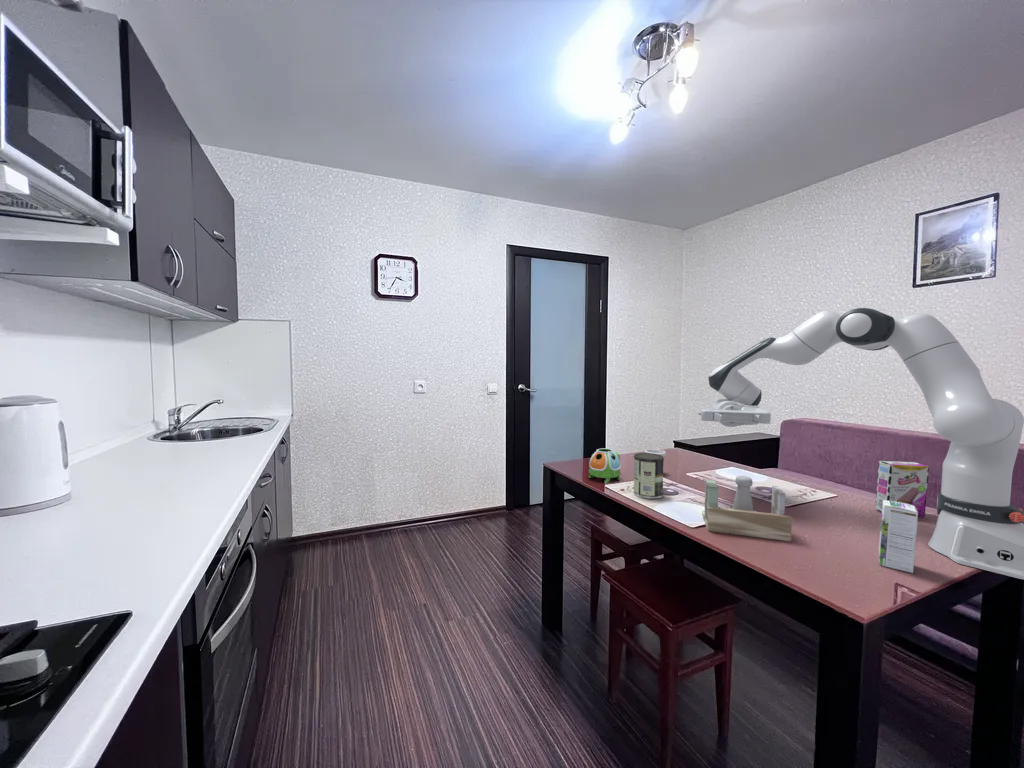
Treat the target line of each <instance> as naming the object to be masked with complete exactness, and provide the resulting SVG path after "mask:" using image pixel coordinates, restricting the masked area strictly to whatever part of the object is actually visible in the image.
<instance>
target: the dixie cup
mask: <svg viewBox="0 0 1024 768" xmlns="http://www.w3.org/2000/svg"><path fill="white" fill-rule="evenodd" d="M644 453H653V454H658V455H662V456H663V457H664V458H665V455H666V451H665V450H662V449H658V448H656V449H655V448H649V449H647V448H646V449H645V450H644ZM664 462H665V461H664ZM664 462H663V464H664Z"/></svg>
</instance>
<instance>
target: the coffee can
mask: <svg viewBox="0 0 1024 768" xmlns="http://www.w3.org/2000/svg"><path fill="white" fill-rule="evenodd" d="M633 458H634V459H633V460H634V462H633V463H634V464H633V472H634V473H633V492H632V493H633V494H634V495H635V496H637V497H639V498H643V499H650V500H652V499H653V500H654V499H660V498H663V497H664V463H663V462H665V456H664V457H663V456H662V455H658V454H653V453H646V452H638V453H634V454H633Z"/></svg>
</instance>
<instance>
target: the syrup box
mask: <svg viewBox="0 0 1024 768" xmlns="http://www.w3.org/2000/svg"><path fill="white" fill-rule="evenodd" d="M880 517H881V520H880V528H879V540H878V562H879V566H882V567H886V568H890V569H894V570H898V571H903V572H906V573H910V574H914V568H915V556H916V545H917V543H916V542H917V534H918V533H917V531H918V518H919V516H918V512H917V509H916V507H915V506H913V505H909V504H905V503H901V502H895V501H887V500H883V505H882V513H881V516H880Z"/></svg>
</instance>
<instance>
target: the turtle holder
mask: <svg viewBox="0 0 1024 768" xmlns="http://www.w3.org/2000/svg"><path fill="white" fill-rule="evenodd" d="M620 459H621V456H620V453H618V451H614V449H611V448H607V447H606V448H604V447H602V448H598V449H597V448H596V451H594V453H592V455H591V457H590V459H589V462H588V468H589V469H588V473H589V475H588V478H589V479H594V477H595V478H601V479H604V480H603V481H604V483H605V484H607V483H610V479H613V478H616V480H618V481H620V480H621V467H622V465H621V460H620Z"/></svg>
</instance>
